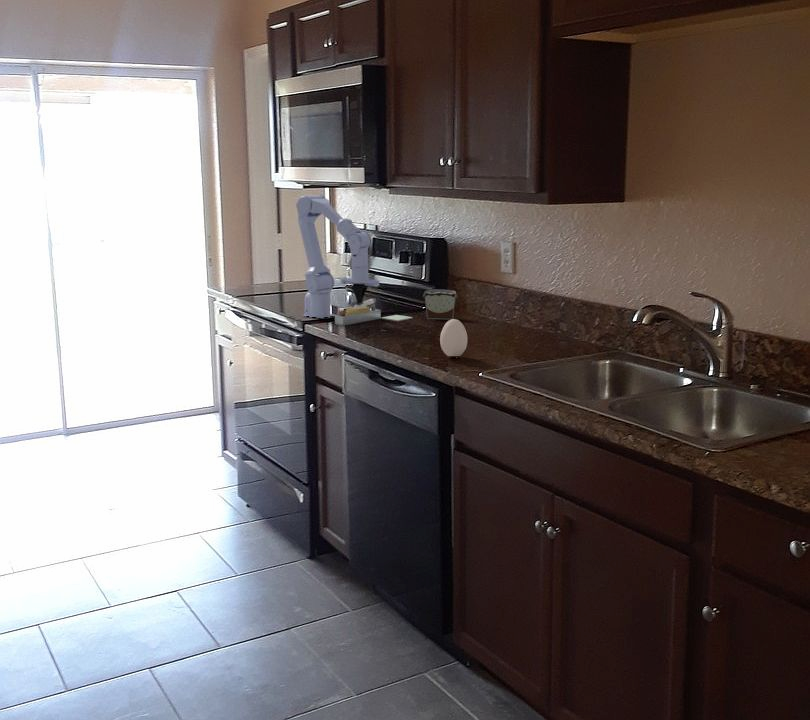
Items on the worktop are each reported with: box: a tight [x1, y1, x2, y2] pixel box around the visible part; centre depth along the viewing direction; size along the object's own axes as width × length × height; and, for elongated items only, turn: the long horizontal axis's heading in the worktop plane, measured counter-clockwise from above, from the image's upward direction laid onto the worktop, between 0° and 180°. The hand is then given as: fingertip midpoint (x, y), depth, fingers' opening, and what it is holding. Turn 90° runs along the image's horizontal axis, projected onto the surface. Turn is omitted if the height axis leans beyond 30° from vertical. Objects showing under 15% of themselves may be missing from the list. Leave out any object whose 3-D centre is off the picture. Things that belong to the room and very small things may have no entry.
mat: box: [381, 314, 413, 322], centre depth 329 cm, size 8×8×1 cm
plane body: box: [334, 303, 382, 327], centre depth 323 cm, size 4×19×6 cm, turn 138°
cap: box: [345, 306, 371, 314], centre depth 322 cm, size 5×7×2 cm
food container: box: [422, 289, 458, 320], centre depth 330 cm, size 12×6×10 cm, turn 84°
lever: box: [353, 298, 377, 309], centre depth 321 cm, size 2×16×1 cm, turn 160°
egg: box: [439, 318, 468, 357], centre depth 264 cm, size 8×8×11 cm
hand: (360, 305), depth 320 cm, fingers closed, pressing on lever
